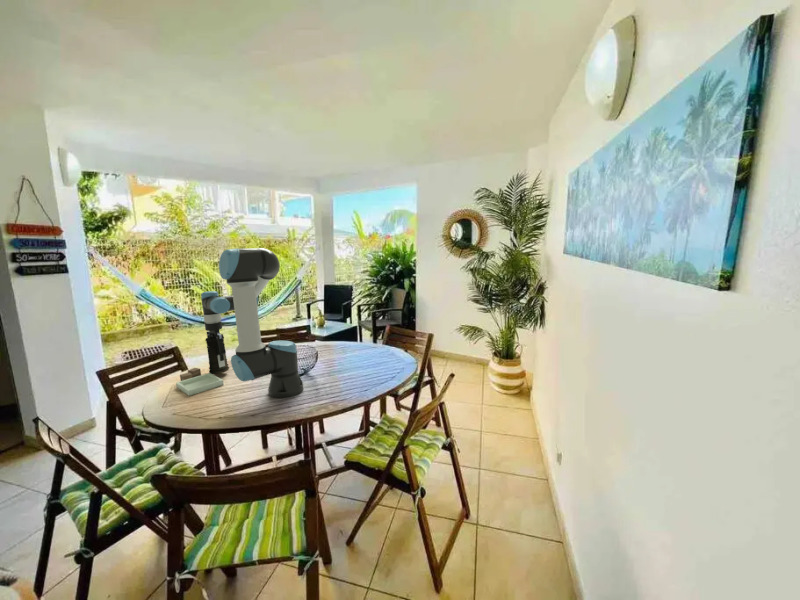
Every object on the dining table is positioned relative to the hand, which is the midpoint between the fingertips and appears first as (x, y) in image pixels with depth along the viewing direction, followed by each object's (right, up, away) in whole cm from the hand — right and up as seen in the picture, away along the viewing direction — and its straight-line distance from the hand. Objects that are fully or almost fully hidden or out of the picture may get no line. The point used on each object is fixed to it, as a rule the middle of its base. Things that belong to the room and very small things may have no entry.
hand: (218, 364), depth 173 cm
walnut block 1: (-11, -7, -8) cm, 15 cm away
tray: (-2, -8, -13) cm, 15 cm away
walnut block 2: (-11, -6, -1) cm, 13 cm away
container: (0, -3, +1) cm, 4 cm away
